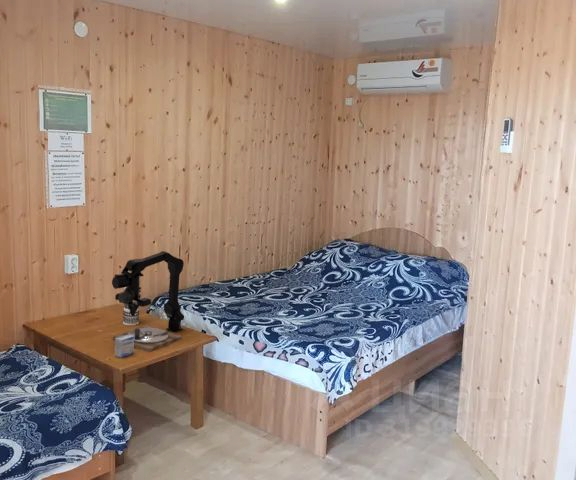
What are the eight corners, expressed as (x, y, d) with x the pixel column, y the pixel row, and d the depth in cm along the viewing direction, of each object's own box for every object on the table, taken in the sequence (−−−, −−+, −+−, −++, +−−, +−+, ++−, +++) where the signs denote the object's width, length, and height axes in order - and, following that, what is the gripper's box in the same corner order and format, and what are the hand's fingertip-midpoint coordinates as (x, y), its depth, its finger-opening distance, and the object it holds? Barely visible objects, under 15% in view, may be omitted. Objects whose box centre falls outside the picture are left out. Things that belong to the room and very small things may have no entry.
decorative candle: (143, 322, 313) (145, 278, 309) (130, 326, 305) (132, 281, 301) (131, 318, 318) (133, 275, 313) (118, 322, 310) (120, 278, 306)
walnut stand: (147, 327, 306) (147, 323, 305) (181, 338, 294) (182, 334, 294) (113, 339, 285) (113, 334, 285) (148, 351, 274) (149, 346, 273)
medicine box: (120, 358, 263) (121, 340, 262) (114, 355, 266) (114, 337, 264) (133, 353, 270) (134, 336, 269) (127, 351, 272) (127, 333, 271)
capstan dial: (145, 326, 302) (145, 316, 301) (176, 335, 294) (176, 324, 293) (119, 337, 285) (119, 325, 284) (151, 346, 276) (151, 334, 275)
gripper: (107, 285, 279) (106, 315, 282) (136, 292, 271) (135, 324, 274) (123, 280, 289) (123, 310, 292) (152, 287, 281) (151, 318, 284)
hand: (132, 315), depth 285 cm, fingers closed
